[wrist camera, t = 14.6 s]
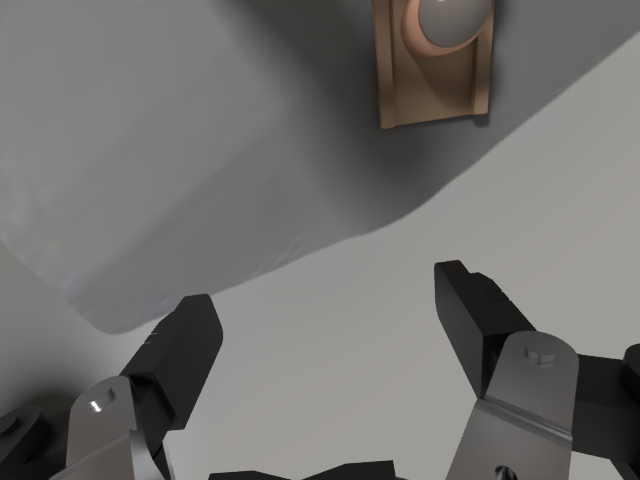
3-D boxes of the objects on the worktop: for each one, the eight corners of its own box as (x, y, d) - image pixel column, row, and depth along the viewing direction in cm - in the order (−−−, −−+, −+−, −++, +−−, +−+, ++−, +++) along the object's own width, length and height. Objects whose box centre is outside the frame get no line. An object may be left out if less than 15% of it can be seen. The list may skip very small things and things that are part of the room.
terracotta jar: (398, -10, 27) (415, -36, 22) (465, -22, 27) (499, -52, 21) (401, 63, 30) (416, 56, 24) (462, 53, 29) (492, 44, 24)
